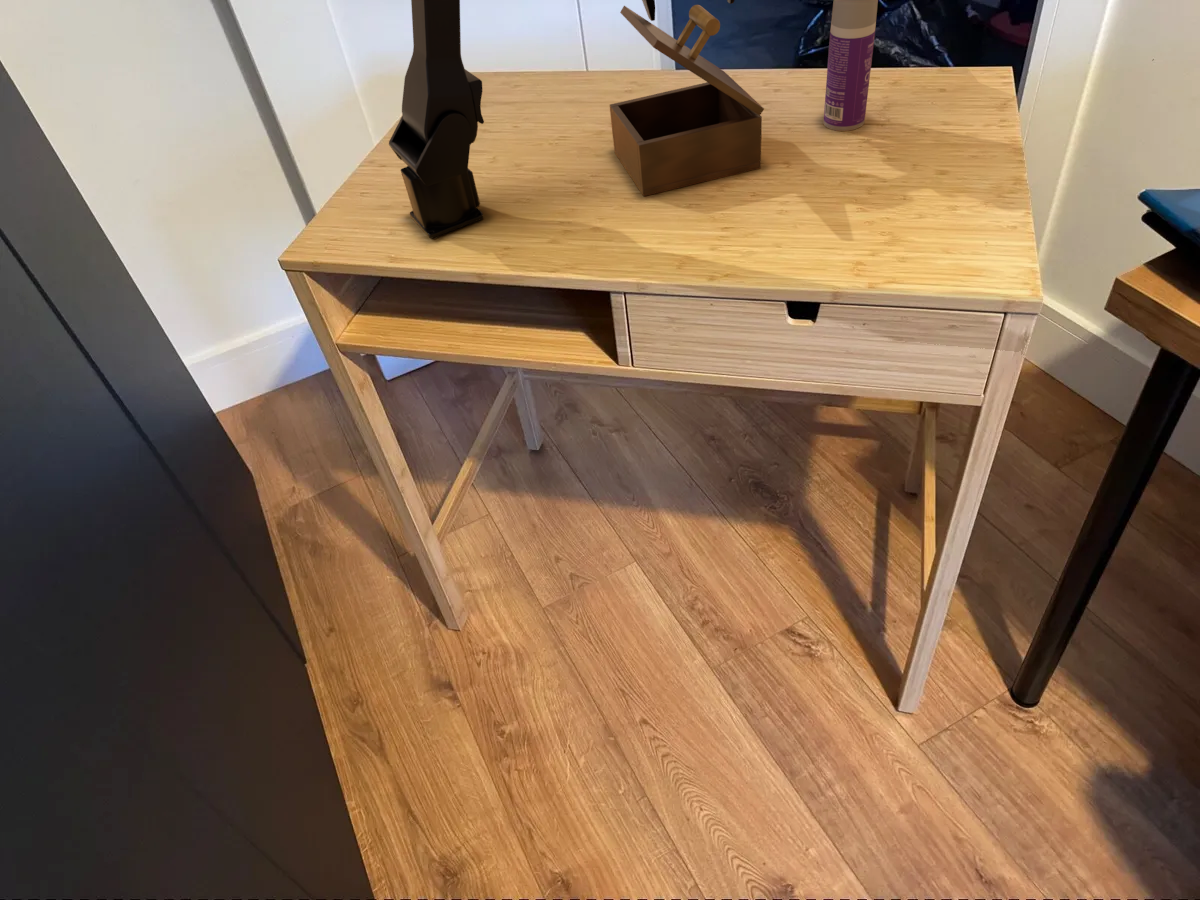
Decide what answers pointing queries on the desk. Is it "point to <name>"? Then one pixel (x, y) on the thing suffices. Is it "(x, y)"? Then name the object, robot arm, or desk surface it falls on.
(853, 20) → the container
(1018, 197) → the desk surface
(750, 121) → the compartment
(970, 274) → the desk surface
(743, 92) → the box door
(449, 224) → the robot arm
